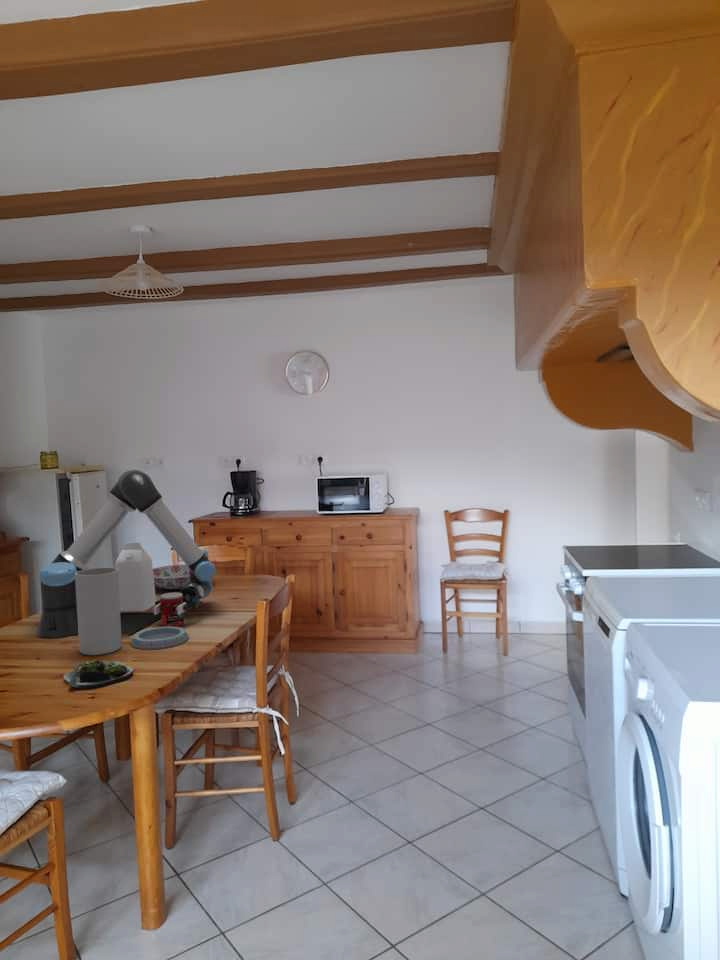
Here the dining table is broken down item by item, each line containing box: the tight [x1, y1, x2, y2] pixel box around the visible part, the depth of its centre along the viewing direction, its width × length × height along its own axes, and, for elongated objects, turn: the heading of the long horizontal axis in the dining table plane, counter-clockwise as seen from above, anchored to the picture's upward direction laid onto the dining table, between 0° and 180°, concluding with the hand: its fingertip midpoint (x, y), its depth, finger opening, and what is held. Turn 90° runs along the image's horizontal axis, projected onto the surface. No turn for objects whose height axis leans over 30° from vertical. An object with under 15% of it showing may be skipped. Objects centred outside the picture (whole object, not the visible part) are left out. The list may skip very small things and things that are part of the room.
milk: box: [114, 541, 157, 612], centre depth 263 cm, size 12×12×26 cm
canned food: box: [159, 591, 185, 628], centre depth 236 cm, size 8×8×11 cm
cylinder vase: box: [75, 567, 123, 656], centre depth 210 cm, size 12×12×25 cm
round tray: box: [130, 626, 189, 651], centre depth 218 cm, size 18×18×2 cm
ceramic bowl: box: [153, 564, 190, 590], centre depth 298 cm, size 29×29×8 cm
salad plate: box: [63, 659, 134, 690], centre depth 186 cm, size 19×18×5 cm
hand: (166, 610), depth 231 cm, fingers closed on canned food, 8 cm apart
